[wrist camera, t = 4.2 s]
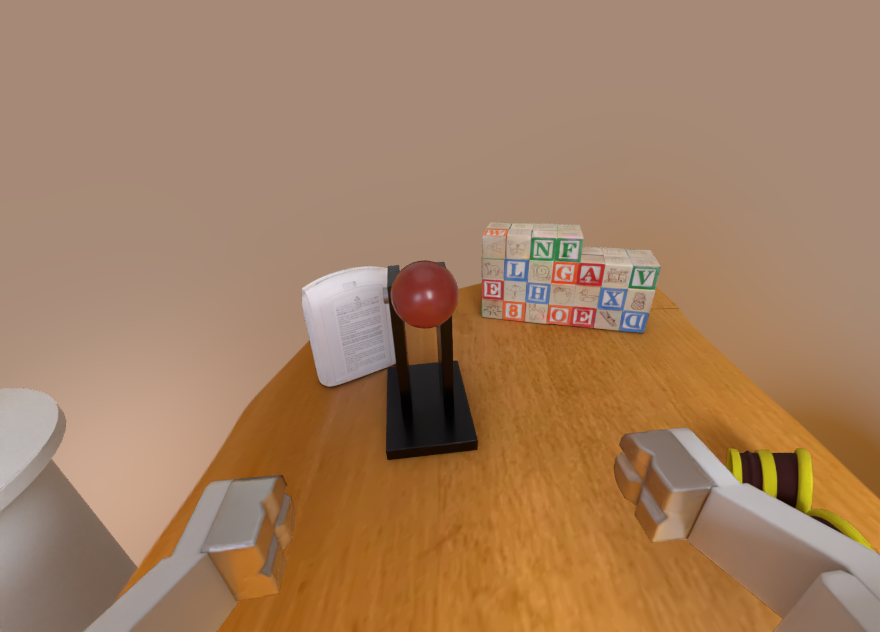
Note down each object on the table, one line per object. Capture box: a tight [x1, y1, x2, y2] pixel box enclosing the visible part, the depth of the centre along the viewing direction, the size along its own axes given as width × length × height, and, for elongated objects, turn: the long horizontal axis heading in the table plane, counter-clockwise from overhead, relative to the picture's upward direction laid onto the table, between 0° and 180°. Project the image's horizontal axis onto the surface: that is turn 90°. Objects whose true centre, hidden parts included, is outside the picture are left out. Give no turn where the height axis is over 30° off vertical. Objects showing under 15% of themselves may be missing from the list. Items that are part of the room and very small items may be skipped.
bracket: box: [383, 262, 478, 460], centre depth 35 cm, size 12×8×15 cm, turn 6°
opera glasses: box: [726, 448, 874, 551], centre depth 25 cm, size 10×5×5 cm, turn 163°
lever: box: [391, 261, 459, 328], centre depth 26 cm, size 15×4×4 cm, turn 6°
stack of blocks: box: [482, 222, 661, 333], centre depth 51 cm, size 21×6×12 cm, turn 74°
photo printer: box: [302, 266, 396, 387], centre depth 42 cm, size 10×4×12 cm, turn 122°
